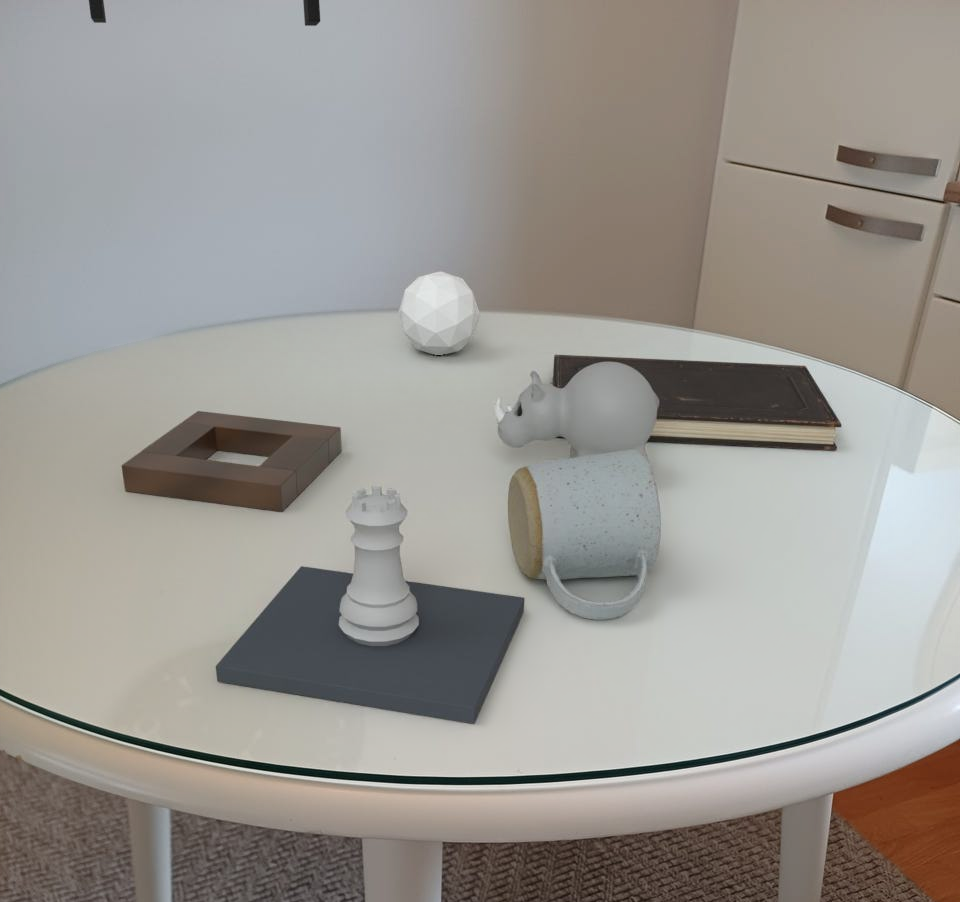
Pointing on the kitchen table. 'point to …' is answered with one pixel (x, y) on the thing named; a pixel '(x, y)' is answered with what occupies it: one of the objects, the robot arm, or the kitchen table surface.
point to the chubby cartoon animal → (584, 411)
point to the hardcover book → (727, 402)
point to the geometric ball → (439, 313)
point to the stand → (270, 486)
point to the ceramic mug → (586, 525)
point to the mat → (377, 649)
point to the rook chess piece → (377, 573)
